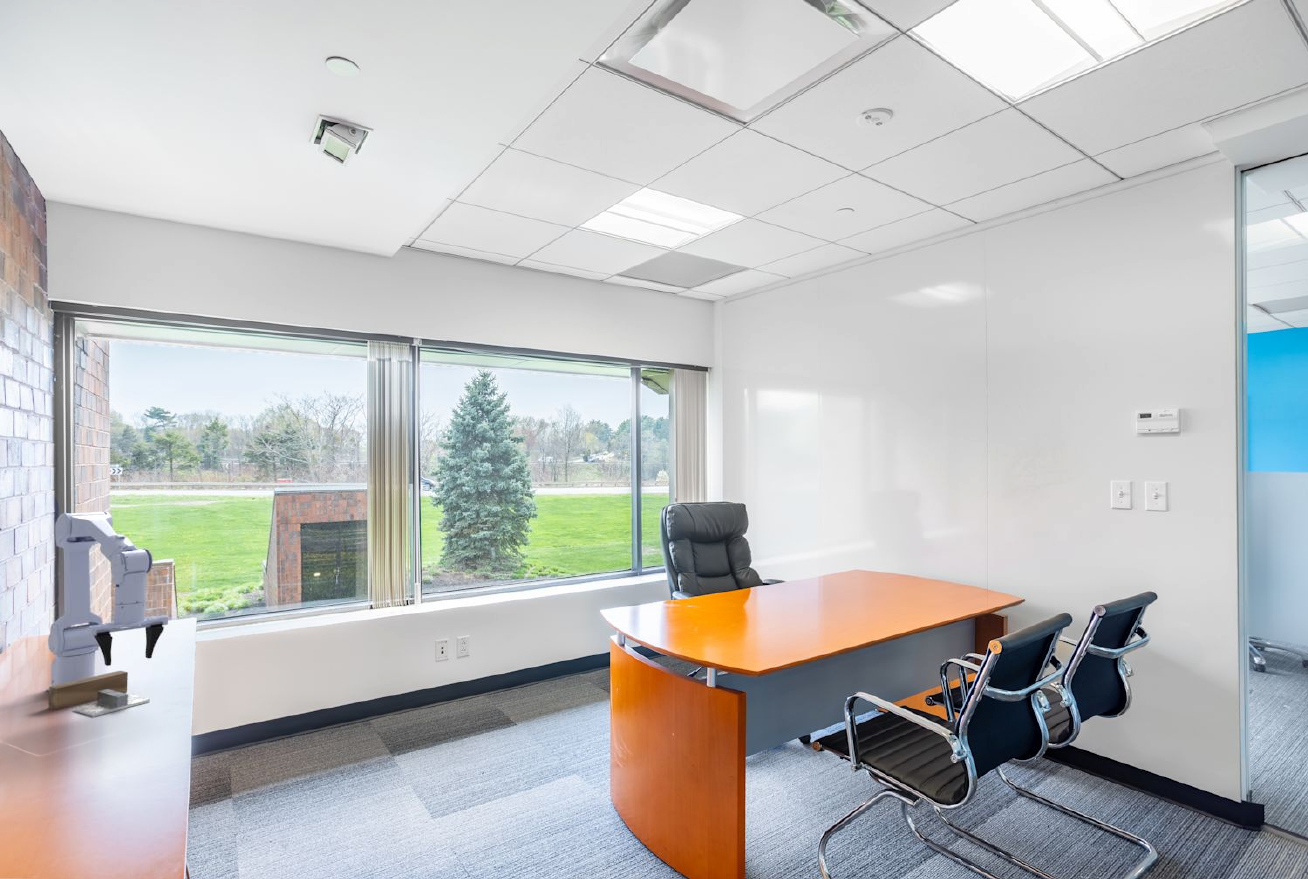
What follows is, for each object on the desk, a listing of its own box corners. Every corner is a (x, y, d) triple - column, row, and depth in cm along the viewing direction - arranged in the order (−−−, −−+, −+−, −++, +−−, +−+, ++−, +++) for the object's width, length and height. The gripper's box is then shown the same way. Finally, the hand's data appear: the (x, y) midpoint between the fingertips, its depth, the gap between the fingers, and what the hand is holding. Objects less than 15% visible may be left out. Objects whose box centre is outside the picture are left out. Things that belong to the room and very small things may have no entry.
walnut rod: (48, 709, 154) (49, 686, 154) (119, 691, 166) (120, 670, 167) (56, 711, 152) (56, 688, 153) (127, 693, 165) (127, 672, 165)
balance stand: (73, 710, 152) (73, 697, 152) (129, 696, 161) (129, 683, 162) (93, 716, 148) (93, 702, 148) (149, 701, 157) (150, 688, 158)
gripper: (95, 609, 149) (93, 671, 149) (172, 599, 161) (171, 657, 160) (87, 605, 154) (85, 665, 153) (163, 596, 165) (161, 652, 164)
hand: (128, 661), depth 157 cm, fingers open, 7 cm apart
